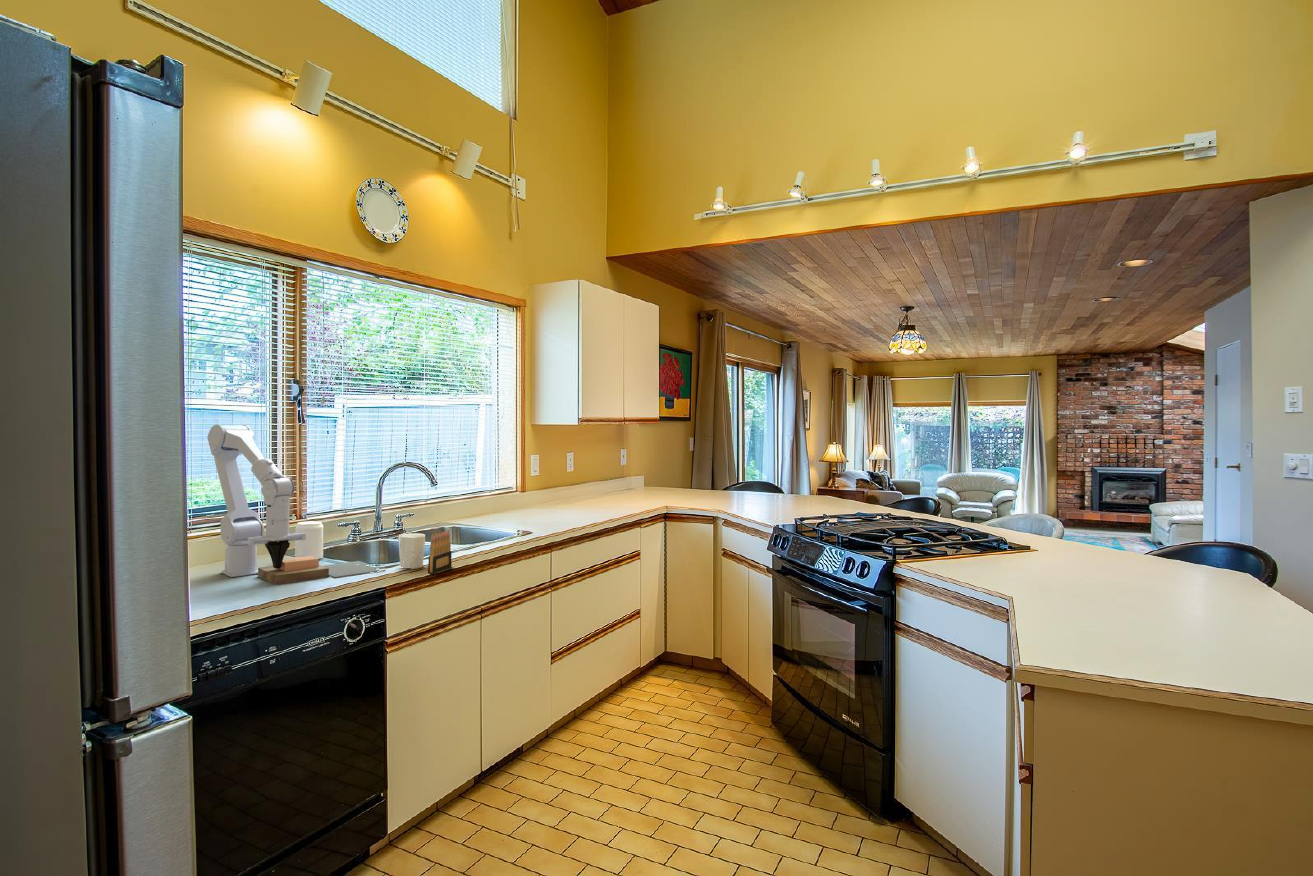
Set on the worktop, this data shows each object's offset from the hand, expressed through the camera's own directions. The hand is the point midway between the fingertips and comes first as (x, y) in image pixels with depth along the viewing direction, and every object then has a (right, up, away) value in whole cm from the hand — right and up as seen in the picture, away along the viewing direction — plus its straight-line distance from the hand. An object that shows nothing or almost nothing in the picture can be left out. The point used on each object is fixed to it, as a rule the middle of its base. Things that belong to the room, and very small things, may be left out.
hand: (277, 567), depth 186 cm
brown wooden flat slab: (+3, -3, +3) cm, 5 cm away
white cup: (+31, -4, +20) cm, 37 cm away
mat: (+13, -3, +14) cm, 20 cm away
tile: (+4, 0, +4) cm, 6 cm away
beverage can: (-6, -3, +28) cm, 29 cm away
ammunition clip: (+41, -4, +16) cm, 44 cm away
